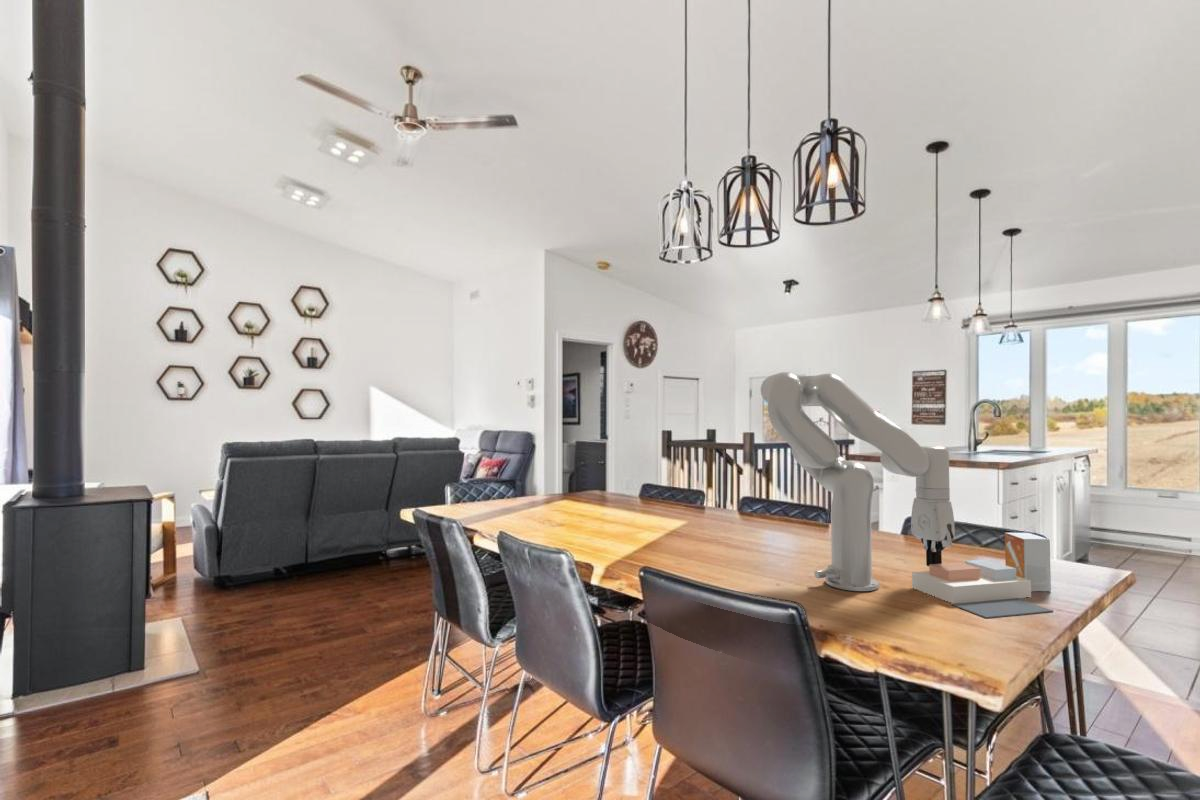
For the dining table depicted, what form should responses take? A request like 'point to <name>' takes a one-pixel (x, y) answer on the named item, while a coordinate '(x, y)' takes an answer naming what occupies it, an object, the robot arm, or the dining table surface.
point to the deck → (971, 588)
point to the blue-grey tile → (993, 569)
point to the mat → (1002, 608)
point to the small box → (1029, 558)
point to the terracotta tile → (954, 571)
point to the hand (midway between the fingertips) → (934, 566)
